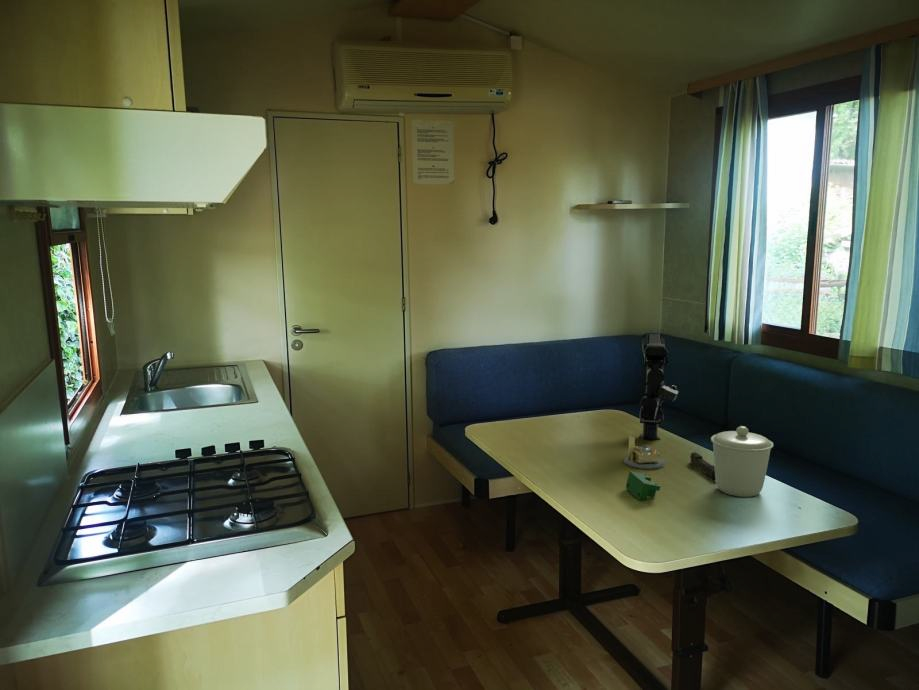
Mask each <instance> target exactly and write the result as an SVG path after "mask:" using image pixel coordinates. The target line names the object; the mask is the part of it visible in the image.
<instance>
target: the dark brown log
mask: <svg viewBox="0 0 919 690" xmlns="http://www.w3.org/2000/svg"><path fill="white" fill-rule="evenodd" d="M689 457H690V464H691V465H692V466H693V467H694V468H695V467H696V468H695V469H699V470H700V471H702V472H704V474H706V475H707V476H709V477H710V479H711V480H713V481H712V482H714V481H715V480H716V479H715V468H714V464H710V463H709V462H707V461H706V460H704V458H703V456H702V455H701V454H700V453H697V452H695V451H694V452H691V453H690V456H689ZM715 482H716V481H715Z"/></svg>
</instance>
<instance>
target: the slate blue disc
mask: <svg viewBox="0 0 919 690" xmlns="http://www.w3.org/2000/svg"><path fill="white" fill-rule="evenodd" d="M638 448H639V451H640V450H644V453H650V448H649V447H646V446H639V447H638ZM623 464H624V465H626V466H627V467H631V468H633V469H637V468H638V469H637V470H644V469H654V470H660V469H663V468H664V467H665V466H666V465H665V464H666V461H665V460H664V459H663V458H661V457H660V462H652V463H637V462H636V461H635V460H634V461H629V460H628V455H626V456H625V457H624V458H623Z"/></svg>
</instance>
